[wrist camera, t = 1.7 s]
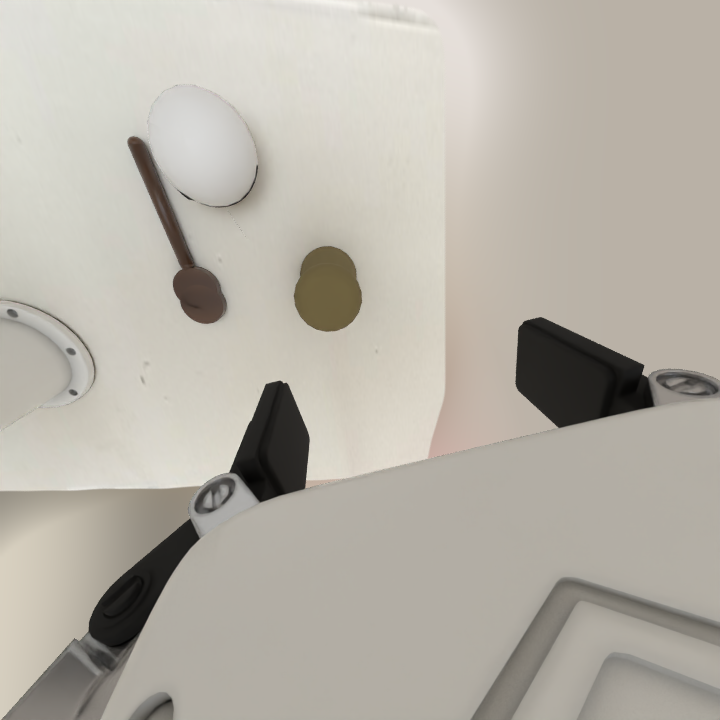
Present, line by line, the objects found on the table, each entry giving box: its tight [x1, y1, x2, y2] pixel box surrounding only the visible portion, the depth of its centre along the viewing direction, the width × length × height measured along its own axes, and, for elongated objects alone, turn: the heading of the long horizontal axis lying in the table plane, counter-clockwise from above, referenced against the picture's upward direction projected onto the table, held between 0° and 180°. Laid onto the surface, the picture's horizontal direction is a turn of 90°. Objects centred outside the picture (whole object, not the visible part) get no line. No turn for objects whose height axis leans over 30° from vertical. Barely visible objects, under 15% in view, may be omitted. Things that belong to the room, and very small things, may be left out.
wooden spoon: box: [127, 136, 226, 324], centre depth 26 cm, size 16×4×1 cm, turn 9°
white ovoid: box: [147, 85, 258, 237], centre depth 22 cm, size 10×7×7 cm
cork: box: [294, 246, 362, 332], centre depth 25 cm, size 6×6×11 cm
